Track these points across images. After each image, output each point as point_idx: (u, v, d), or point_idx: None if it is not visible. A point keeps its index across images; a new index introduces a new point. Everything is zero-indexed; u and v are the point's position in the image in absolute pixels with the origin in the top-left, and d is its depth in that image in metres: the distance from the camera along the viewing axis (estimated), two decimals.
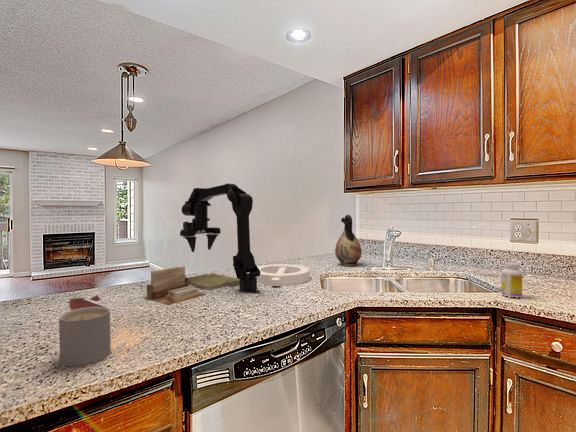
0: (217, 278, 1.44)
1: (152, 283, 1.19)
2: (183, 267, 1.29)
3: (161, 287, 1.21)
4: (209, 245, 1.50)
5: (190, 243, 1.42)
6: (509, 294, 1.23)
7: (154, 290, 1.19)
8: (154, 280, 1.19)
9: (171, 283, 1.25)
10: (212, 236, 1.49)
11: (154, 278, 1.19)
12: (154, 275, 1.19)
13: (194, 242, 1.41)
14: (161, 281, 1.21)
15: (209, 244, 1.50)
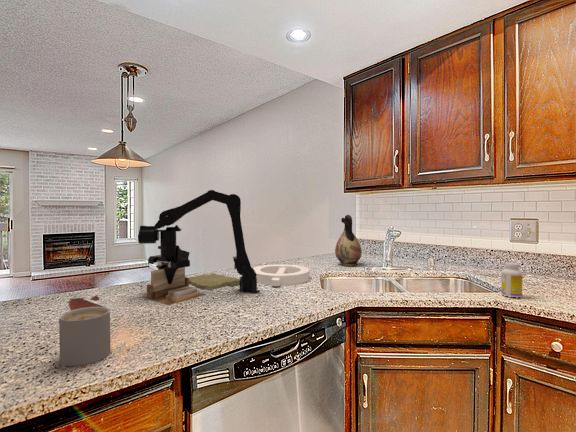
0: (217, 278, 1.44)
1: (152, 283, 1.19)
2: (183, 267, 1.29)
3: (161, 287, 1.21)
4: None
5: None
6: (509, 294, 1.23)
7: (154, 290, 1.19)
8: (154, 280, 1.19)
9: None
10: None
11: (154, 278, 1.19)
12: (154, 275, 1.19)
13: None
14: (161, 281, 1.21)
15: None
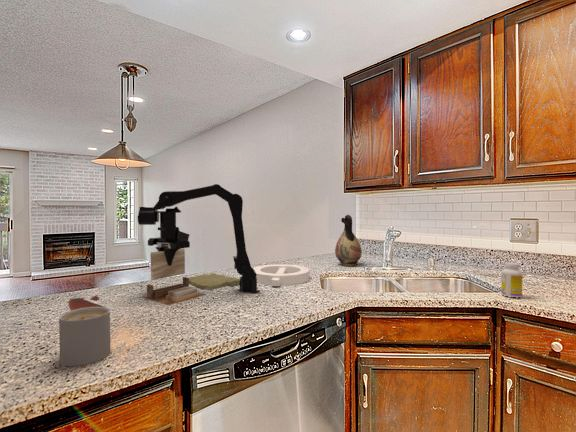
0: (217, 278, 1.44)
1: (152, 265, 1.19)
2: (183, 250, 1.29)
3: (161, 269, 1.21)
4: None
5: None
6: (509, 294, 1.23)
7: (154, 272, 1.19)
8: (154, 262, 1.19)
9: (171, 265, 1.25)
10: None
11: (154, 260, 1.19)
12: (154, 257, 1.19)
13: None
14: (161, 263, 1.21)
15: None
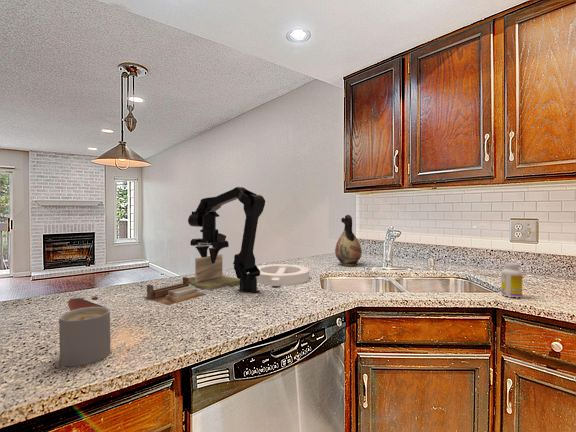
0: (217, 278, 1.44)
1: (196, 269, 1.37)
2: (221, 256, 1.47)
3: (203, 273, 1.39)
4: None
5: None
6: (509, 294, 1.23)
7: (198, 275, 1.37)
8: (198, 266, 1.37)
9: (211, 269, 1.43)
10: None
11: (198, 264, 1.37)
12: (198, 262, 1.37)
13: (200, 252, 1.42)
14: (204, 268, 1.39)
15: None
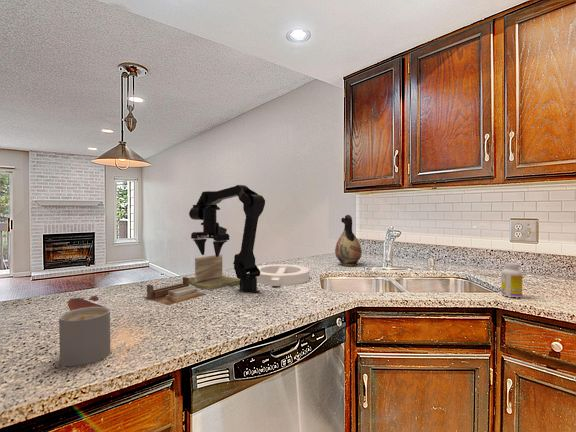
0: (217, 278, 1.44)
1: (196, 269, 1.37)
2: (221, 256, 1.47)
3: (203, 272, 1.39)
4: None
5: None
6: (509, 294, 1.23)
7: (198, 275, 1.37)
8: (198, 266, 1.37)
9: (211, 269, 1.43)
10: None
11: (198, 264, 1.37)
12: (198, 262, 1.37)
13: (197, 245, 1.44)
14: (203, 267, 1.39)
15: None
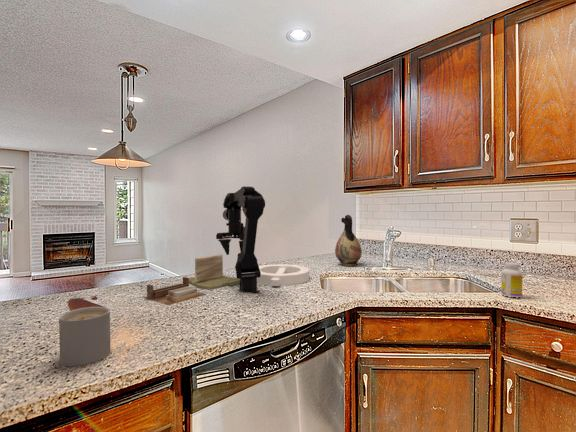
0: (217, 279, 1.44)
1: (196, 269, 1.37)
2: (221, 256, 1.47)
3: (203, 272, 1.40)
4: None
5: None
6: (509, 294, 1.23)
7: (198, 275, 1.38)
8: (198, 266, 1.37)
9: (211, 269, 1.43)
10: None
11: (198, 264, 1.37)
12: (198, 262, 1.37)
13: (222, 245, 1.48)
14: (203, 267, 1.40)
15: None
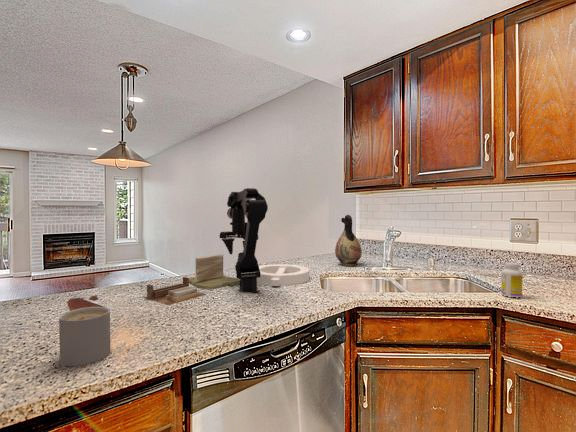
0: (218, 278, 1.44)
1: (196, 268, 1.38)
2: (222, 256, 1.48)
3: (204, 272, 1.40)
4: None
5: None
6: (509, 294, 1.23)
7: (198, 274, 1.38)
8: (198, 266, 1.38)
9: (212, 269, 1.43)
10: None
11: (198, 264, 1.38)
12: (198, 262, 1.38)
13: (226, 245, 1.46)
14: (204, 267, 1.40)
15: None
